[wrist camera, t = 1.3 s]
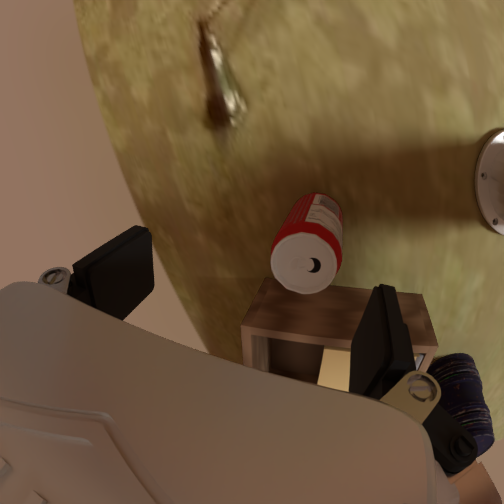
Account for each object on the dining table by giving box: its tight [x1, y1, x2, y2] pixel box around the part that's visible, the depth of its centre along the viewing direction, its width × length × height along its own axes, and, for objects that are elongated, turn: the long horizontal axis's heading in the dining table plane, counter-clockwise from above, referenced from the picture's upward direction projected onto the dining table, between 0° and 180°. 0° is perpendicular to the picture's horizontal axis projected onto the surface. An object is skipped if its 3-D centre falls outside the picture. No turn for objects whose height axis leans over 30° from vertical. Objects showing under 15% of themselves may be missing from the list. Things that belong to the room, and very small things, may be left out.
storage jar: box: [426, 353, 495, 458], centre depth 27 cm, size 10×10×15 cm
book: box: [317, 345, 424, 392], centre depth 28 cm, size 11×14×1 cm
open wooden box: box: [241, 278, 438, 384], centre depth 33 cm, size 20×17×10 cm
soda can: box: [271, 192, 343, 294], centre depth 26 cm, size 6×6×12 cm
